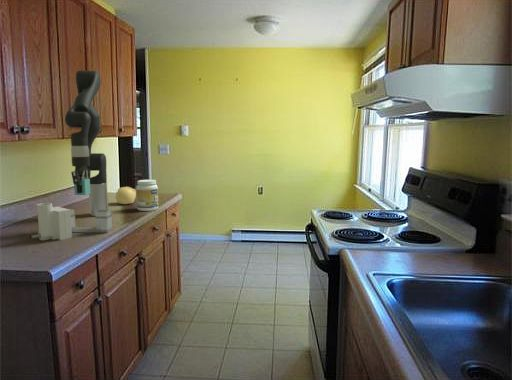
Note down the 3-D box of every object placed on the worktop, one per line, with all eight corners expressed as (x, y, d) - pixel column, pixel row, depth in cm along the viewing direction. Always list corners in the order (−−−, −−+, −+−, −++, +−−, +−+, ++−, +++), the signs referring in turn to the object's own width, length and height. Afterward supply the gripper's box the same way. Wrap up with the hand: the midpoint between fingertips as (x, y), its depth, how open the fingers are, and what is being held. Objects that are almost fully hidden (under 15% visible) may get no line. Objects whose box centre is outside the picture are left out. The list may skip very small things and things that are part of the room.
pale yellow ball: (138, 202, 246) (138, 185, 244) (130, 205, 234) (129, 188, 232) (121, 201, 247) (120, 185, 245) (112, 205, 235) (111, 187, 234)
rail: (65, 229, 177) (63, 209, 176) (112, 229, 176) (111, 209, 175) (58, 232, 172) (57, 211, 170) (107, 232, 171) (106, 212, 170)
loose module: (90, 193, 182) (89, 177, 181) (85, 195, 177) (84, 179, 176) (80, 193, 182) (79, 177, 181) (74, 194, 177) (73, 178, 176)
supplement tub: (156, 211, 218) (155, 181, 215) (134, 211, 217) (133, 182, 214) (160, 207, 230) (159, 179, 227) (139, 207, 229) (138, 179, 226)
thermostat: (72, 237, 164) (69, 203, 161) (36, 245, 153) (33, 208, 151) (59, 232, 171) (56, 199, 169) (24, 239, 160) (21, 204, 158)
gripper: (80, 156, 170) (83, 194, 172) (95, 155, 184) (97, 190, 186) (64, 156, 170) (66, 194, 172) (79, 155, 184) (82, 190, 186)
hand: (82, 192), depth 179 cm, fingers closed on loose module, 5 cm apart
